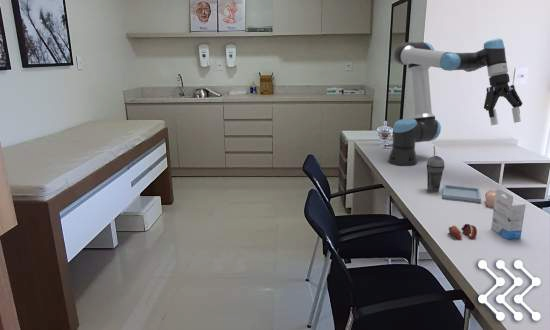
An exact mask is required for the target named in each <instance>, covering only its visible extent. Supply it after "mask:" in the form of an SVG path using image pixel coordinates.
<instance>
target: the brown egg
mask: <svg viewBox="0 0 550 330" xmlns="http://www.w3.org/2000/svg"><path fill="white" fill-rule="evenodd" d="M495 197H496V190H493V189H490V190H488V191H486V192H485V193H484V198H485V203H486V205H487V206H488V207H489V208H490V209H491V208H492V209H494V202H495Z"/></svg>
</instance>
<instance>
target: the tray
mask: <svg viewBox="0 0 550 330" xmlns="http://www.w3.org/2000/svg"><path fill="white" fill-rule="evenodd" d="M442 188H443V189H442V190H443V191H442V200H447V201H449V200H451V201H458V202H467V203H475V204H481V202H482V196H481V190H480V188H479V187H472V186H471V187H470V186H460V185H454V184H453V185H451V184H443V187H442Z"/></svg>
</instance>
